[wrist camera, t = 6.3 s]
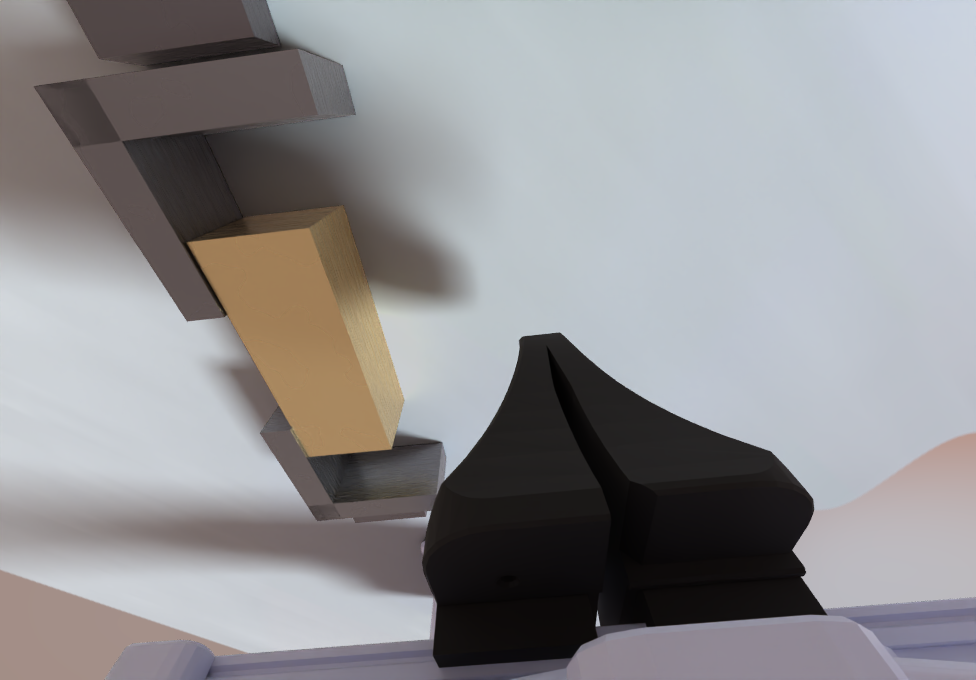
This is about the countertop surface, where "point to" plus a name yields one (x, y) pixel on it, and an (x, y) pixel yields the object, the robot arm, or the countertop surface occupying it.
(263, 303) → the light wood block
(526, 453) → the robot arm
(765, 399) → the countertop surface
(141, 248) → the chain end blocks
